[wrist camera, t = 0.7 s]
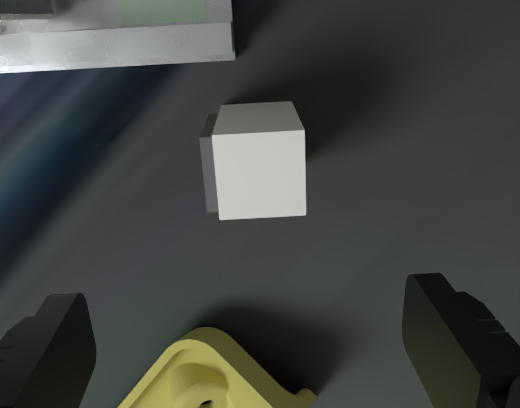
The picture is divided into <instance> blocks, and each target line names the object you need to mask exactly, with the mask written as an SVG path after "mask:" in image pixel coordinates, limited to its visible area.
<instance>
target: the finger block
mask: <svg viewBox="0 0 520 408" xmlns="http://www.w3.org/2000/svg"><path fill="white" fill-rule="evenodd" d="M199 139H200V149H201V158H202V168H203V177H204V187H205V196H206V206H207V212H219V219H220V220H229V219H247V218H265V217H284V216H302V215H306V179H305V130H304V127H303V125H302V123H301V121H300V119H299V116H298V114H297V112H296V110H295V107H294V105H293V103H292V101H285V102H267V103H249V104H231V105H221V108H220V111H219V114H209V116H208V118H207V120H206V123H205V125H204V128H203V130H202V133H201V135H200V137H199Z"/></svg>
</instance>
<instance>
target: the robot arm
mask: <svg viewBox="0 0 520 408" xmlns="http://www.w3.org/2000/svg"><path fill="white" fill-rule="evenodd" d="M402 337H403V342H404V346H405V349H406V352H407V354H408V356H409V358H410V360H411V362H412V364H413V366H414V368H415V370H416V372H417V374H418V376H419V378H420V380H421V382H422V384H423V386H424V388H425V390H426V392H427V394H428V396H429V398H430V400H431V402H432V404H433V406H434V408H520V346H519V345H518V344H517V343H516V341H515V340H514V339H513V338H512V337H511V335H510V334H509V333H508V332H507V333H506V332H505V328H504V327H503V326H502V325H501V324H500V323H499V321H498V320H495V317H494V316H493V314H492V313H491V312H490V311H489V310H488V308H487V307H486V306H485V305H484V304H483V303H482V302H480V301H479V300H477V299H476V298H474V297H472V296H471V295H469V294H467V293H466V292H464V291H463V292H456V291H455V290H454V289H453V287H452V286H451V285H450V284H449V282H448V281H447V280H446V279H445V277H444V276H443V275H442V274H441V273H426V274H410V275H408V277H407V280H406V286H405V297H404V308H403V319H402ZM95 363H96V344H95V339H94V334H93V330H92V325H91V321H90V316H89V311H88V307H87V302H86V299H85V297H84V295H83V294H82V293H75V294H58V295H49V296H48V297H47V298H46V299H45V301H44V302H43V304H42V305H41V307H40V308H39V310H38V311H37V313H36V314H35V316H34V317H26V318H24V319H23V320H22V321H20V322H19V323H18V324H16V325H15V326H14V327H12V328H11V329H10V330H8V331H7V333H6V334H5V335H4V337H3V338H2V340H1V341H0V408H79V405H80V403H81V400H82V398H83V396H84V393H85V391H86V388H87V386H88V383H89V381H90V378H91V376H92V373H93V371H94V367H95Z"/></svg>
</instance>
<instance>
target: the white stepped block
mask: <svg viewBox="0 0 520 408" xmlns="http://www.w3.org/2000/svg"><path fill="white" fill-rule="evenodd" d="M235 59H236V55H235V40H234V26H233V11H232V0H0V73H11V72H29V71H47V70H65V69H83V68H101V67H119V66H137V65H155V64H173V63H190V62H208V61H226V60H235Z"/></svg>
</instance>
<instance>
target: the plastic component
mask: <svg viewBox="0 0 520 408" xmlns="http://www.w3.org/2000/svg"><path fill="white" fill-rule="evenodd" d="M316 399H317V396H316V395H315V394H314V393H313V392H312V391H311V390H309V389H301V390H300V391H299V392H298V393H297V394H296V395H294V394H291V393H289V392H288V391H286V390H285V389H284V388H283V387H281V386H280V385H279V384H278V383H277V382H276V381H275V380H274V379H273V378H272V377H271V376H270V375H269V374H268V373H267V372H266V371H265V370H264V369H263V368H262V367H261V366H260V365H259V364H258V363H257V362H256V361H255V360H254V359H253V358H252V357H251V356H250V355H249V354H248V353H247V352H246V351H245V350H244V349H243V348H242V347H241V346H240V345H239V344H238V343H237V342H235V341H234V340H233V339H232V338H231V337H230V336H229V335H228V334H226V333H225V332H223V331H221V330H219V329H216V328H212V327H201V328H196V329H194V330H192V331H190V332H189V333H187V334H186V335H185V336H183V337H182V338H180V339H179V340H178V341H176V342H175V343H174V344H172V345H171V346H169V347H168V348H167V349H166V350H165V352H164V353H163V354H162V355H161V356H160V358H159V359H158V360H157V361H156V362H155V364H154V365H153V366H152V367H151V368H150V370H149V371H148V372H147V373H146V374H145V376H144V377H143V378H142V379H141V380H140V382H139V383H138V384H137V385H136V386H135V388H134V389H133V390H132V391H131V392H130V394H129V395H128V396H127V397H126V398H125V400H124V401H123V402H122V403H121V404H120V406H119V407H118V408H309V407H310V406H311V405H312V404H313V402H314V401H315V400H316ZM207 400H212V401H211V402H209V403H207V404H204V405H202V403H203V402H205V401H207Z"/></svg>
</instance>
